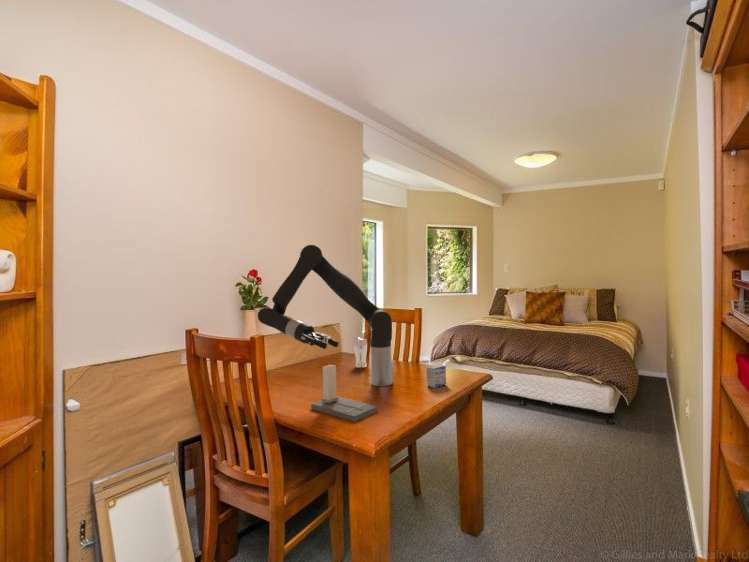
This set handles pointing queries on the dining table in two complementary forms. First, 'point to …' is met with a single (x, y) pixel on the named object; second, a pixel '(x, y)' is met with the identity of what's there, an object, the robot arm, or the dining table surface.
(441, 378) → the medicine box
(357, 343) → the beer glass
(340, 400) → the fader board
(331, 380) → the beige tall block
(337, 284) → the robot arm
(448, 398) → the dining table surface
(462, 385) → the dining table surface
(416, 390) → the dining table surface
